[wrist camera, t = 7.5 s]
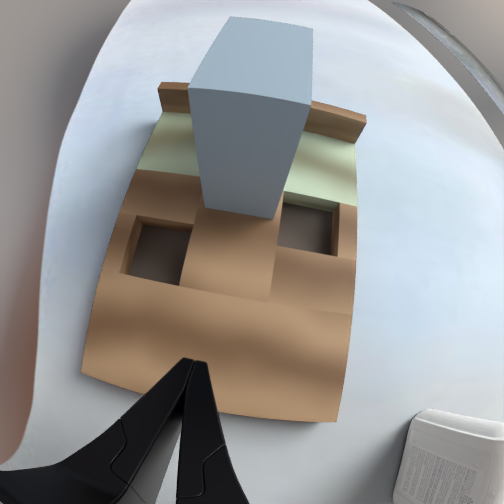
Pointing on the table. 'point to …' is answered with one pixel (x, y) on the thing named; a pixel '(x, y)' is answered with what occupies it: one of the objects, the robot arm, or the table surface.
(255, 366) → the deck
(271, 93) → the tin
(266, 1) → the table surface
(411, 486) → the photo printer
